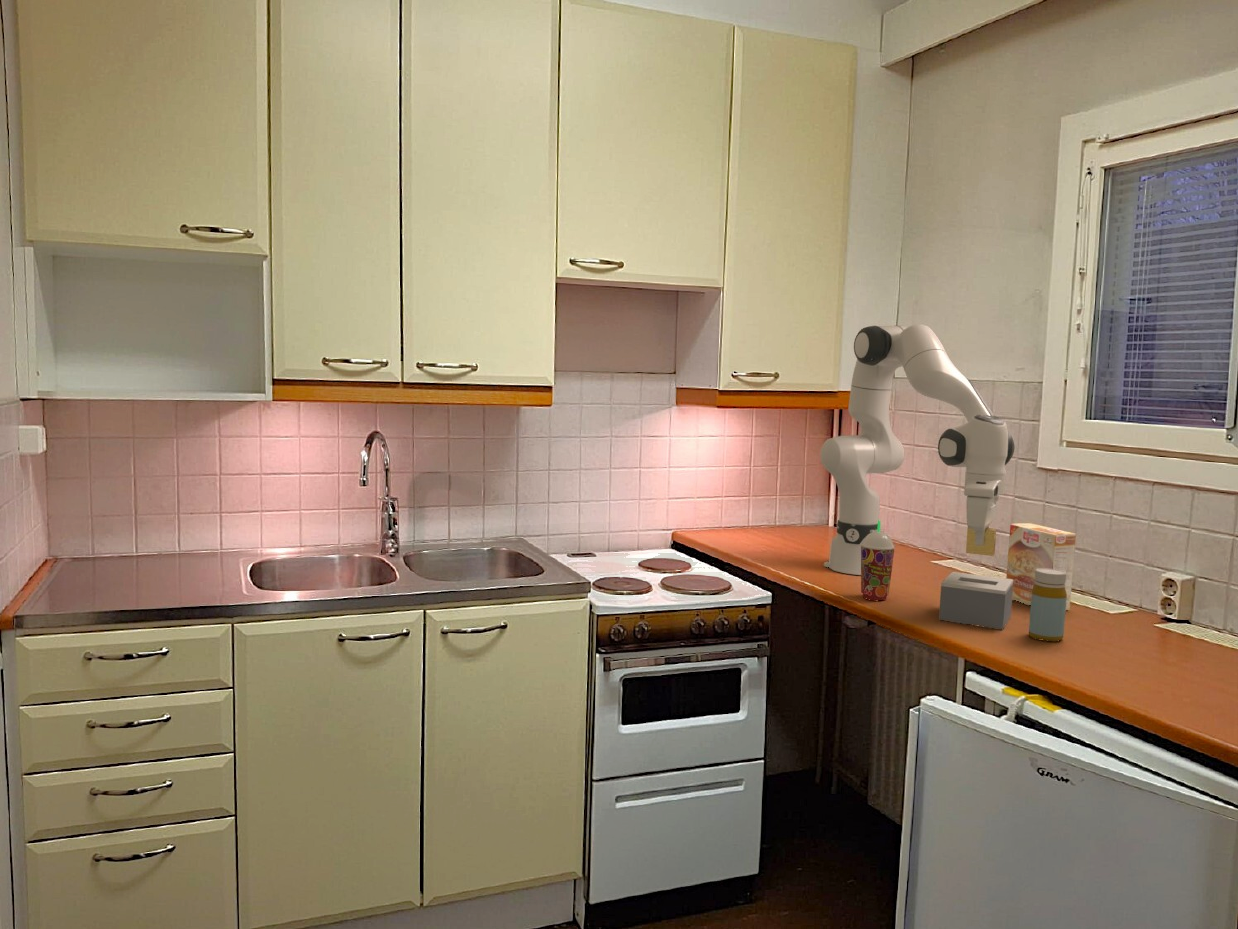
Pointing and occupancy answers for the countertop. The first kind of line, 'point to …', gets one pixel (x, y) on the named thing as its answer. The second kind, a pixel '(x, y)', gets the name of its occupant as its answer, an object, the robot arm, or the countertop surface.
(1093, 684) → the countertop surface
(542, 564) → the countertop surface
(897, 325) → the robot arm
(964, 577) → the coin box
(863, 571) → the smoothie
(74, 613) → the countertop surface
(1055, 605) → the bottle
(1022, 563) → the coffeecake box
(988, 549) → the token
